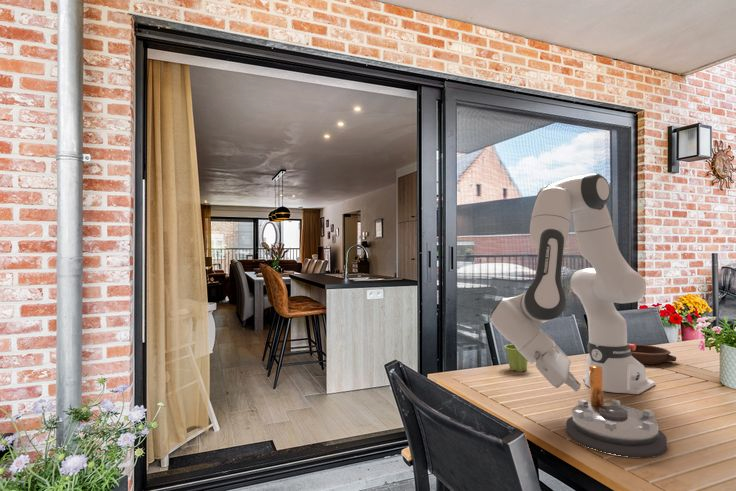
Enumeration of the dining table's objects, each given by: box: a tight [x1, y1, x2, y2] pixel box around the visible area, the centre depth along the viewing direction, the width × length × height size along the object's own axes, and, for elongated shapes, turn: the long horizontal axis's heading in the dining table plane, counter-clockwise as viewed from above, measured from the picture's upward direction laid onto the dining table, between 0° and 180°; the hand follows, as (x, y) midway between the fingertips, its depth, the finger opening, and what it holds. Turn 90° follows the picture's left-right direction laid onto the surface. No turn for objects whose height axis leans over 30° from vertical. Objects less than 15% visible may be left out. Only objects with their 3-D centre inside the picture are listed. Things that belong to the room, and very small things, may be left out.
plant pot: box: [504, 343, 529, 372], centre depth 161 cm, size 9×9×9 cm
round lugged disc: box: [571, 365, 659, 445], centre depth 102 cm, size 18×18×13 cm
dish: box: [631, 344, 677, 365], centre depth 168 cm, size 18×22×5 cm
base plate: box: [565, 416, 668, 458], centre depth 102 cm, size 21×21×2 cm
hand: (578, 388), depth 112 cm, fingers closed
